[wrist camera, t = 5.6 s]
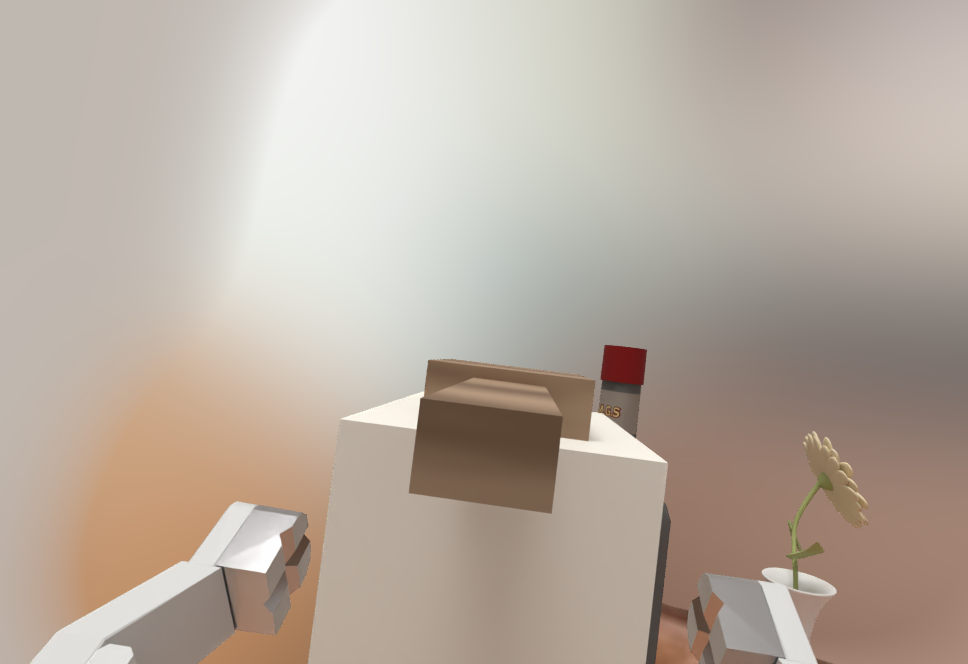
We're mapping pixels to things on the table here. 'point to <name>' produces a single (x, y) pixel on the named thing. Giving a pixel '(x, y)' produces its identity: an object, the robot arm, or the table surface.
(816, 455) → the flower in vase
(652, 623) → the liquor
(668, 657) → the table surface
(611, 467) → the stand
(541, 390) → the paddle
